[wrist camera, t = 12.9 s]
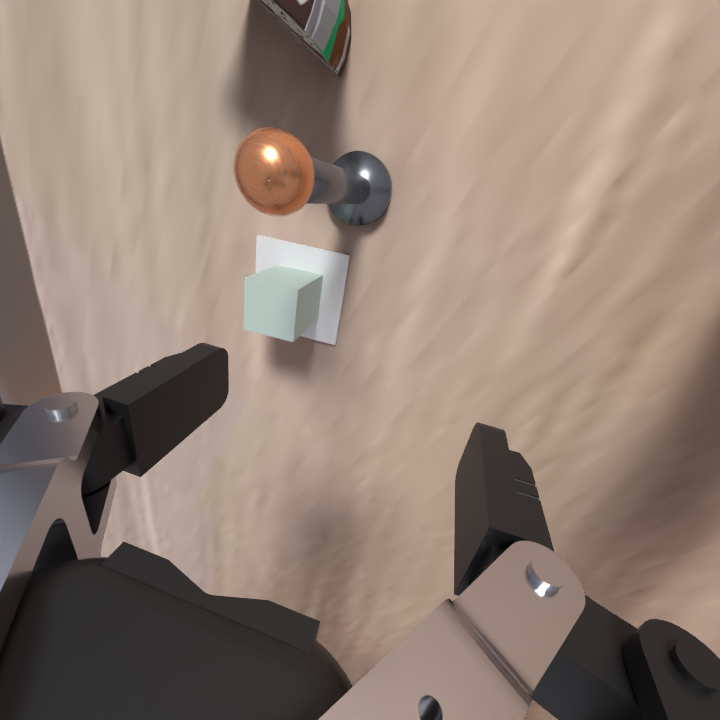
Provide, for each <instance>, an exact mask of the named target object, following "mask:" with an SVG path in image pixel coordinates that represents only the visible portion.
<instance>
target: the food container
mask: <svg viewBox="0 0 720 720" xmlns="http://www.w3.org/2000/svg"><path fill="white" fill-rule="evenodd" d="M257 1H258V2H259V3H260V4H261V5H262V6H263V7H264V8H265V9H266V10H268V11H269V12H270V13H271V14H272V15H273V16H274V17H275V18H276V19H277V20H278V21H279V22H280V23H281V24H283V25H284V26H285V27H286V28H287V29H288V30H289V31H290V32H291V33H292V34H293V35H294V36H295V37H296V38H298V39H299V40H300V41H301V42H302V43H303V44H304V45H305V46H306V47H307V48H308V49H309V50H310V51H311V52H313V53H314V54H315V55H316V56H317V57H318V58H319V59H320V60H321V61H322V62H323V63H324V64H325V65H326V66H328V67H329V68H330V69H331V70H332V71H333V72H334V73H335V74H336V75H337V76H338V77H339V76H340V74H341V72H342V69H343V67H344V65H345V63H346V60H347V55H348V51H349V46H350V42H351V12H350V8H349V4H348V0H257Z"/></svg>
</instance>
